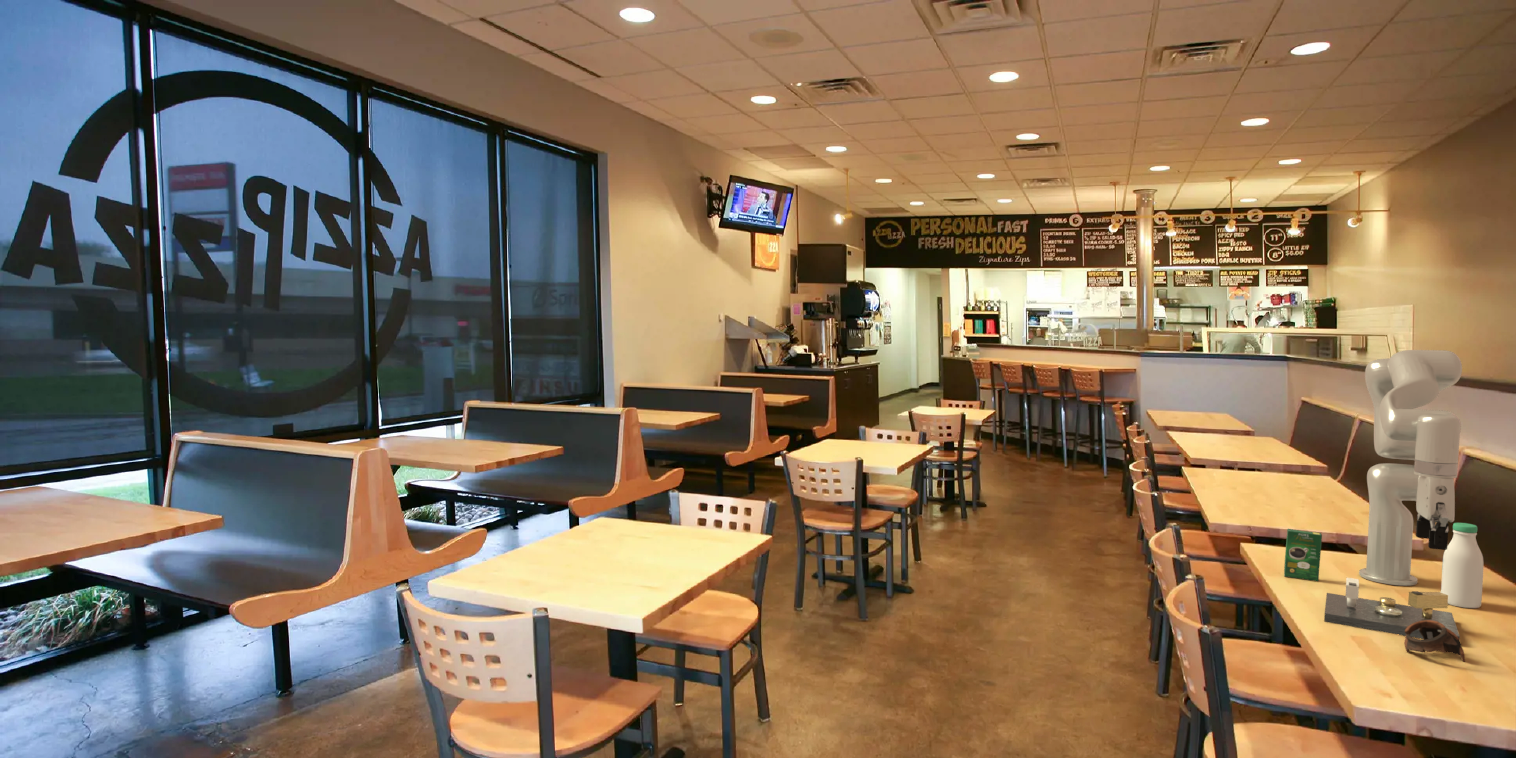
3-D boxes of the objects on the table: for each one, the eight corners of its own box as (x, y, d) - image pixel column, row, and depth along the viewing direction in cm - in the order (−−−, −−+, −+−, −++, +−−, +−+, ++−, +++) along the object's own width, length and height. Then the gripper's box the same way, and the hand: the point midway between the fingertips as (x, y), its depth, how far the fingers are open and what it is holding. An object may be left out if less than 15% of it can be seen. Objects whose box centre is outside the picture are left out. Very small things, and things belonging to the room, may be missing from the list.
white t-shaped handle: (1345, 600, 199) (1346, 576, 198) (1357, 602, 197) (1358, 578, 197) (1344, 608, 193) (1346, 583, 192) (1357, 610, 191) (1358, 585, 191)
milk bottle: (1488, 610, 199) (1494, 529, 197) (1452, 607, 200) (1457, 527, 199) (1468, 599, 206) (1473, 521, 205) (1433, 597, 208) (1437, 520, 206)
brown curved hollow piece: (1476, 670, 165) (1459, 636, 164) (1422, 681, 170) (1404, 648, 169) (1455, 635, 176) (1438, 603, 175) (1404, 646, 180) (1387, 615, 180)
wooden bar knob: (1437, 616, 188) (1439, 590, 188) (1446, 619, 186) (1448, 594, 185) (1407, 616, 188) (1408, 590, 188) (1415, 619, 186) (1417, 594, 185)
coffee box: (1319, 579, 223) (1321, 531, 222) (1319, 582, 220) (1322, 534, 219) (1283, 574, 227) (1286, 527, 226) (1284, 577, 224) (1286, 530, 223)
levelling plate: (1326, 600, 205) (1327, 586, 205) (1451, 621, 191) (1452, 605, 191) (1324, 621, 191) (1325, 606, 191) (1459, 645, 177) (1460, 629, 177)
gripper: (1470, 477, 175) (1464, 555, 176) (1444, 463, 191) (1440, 535, 192) (1425, 474, 178) (1421, 551, 180) (1404, 461, 194) (1400, 532, 195)
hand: (1431, 543), depth 186 cm, fingers open, 9 cm apart
